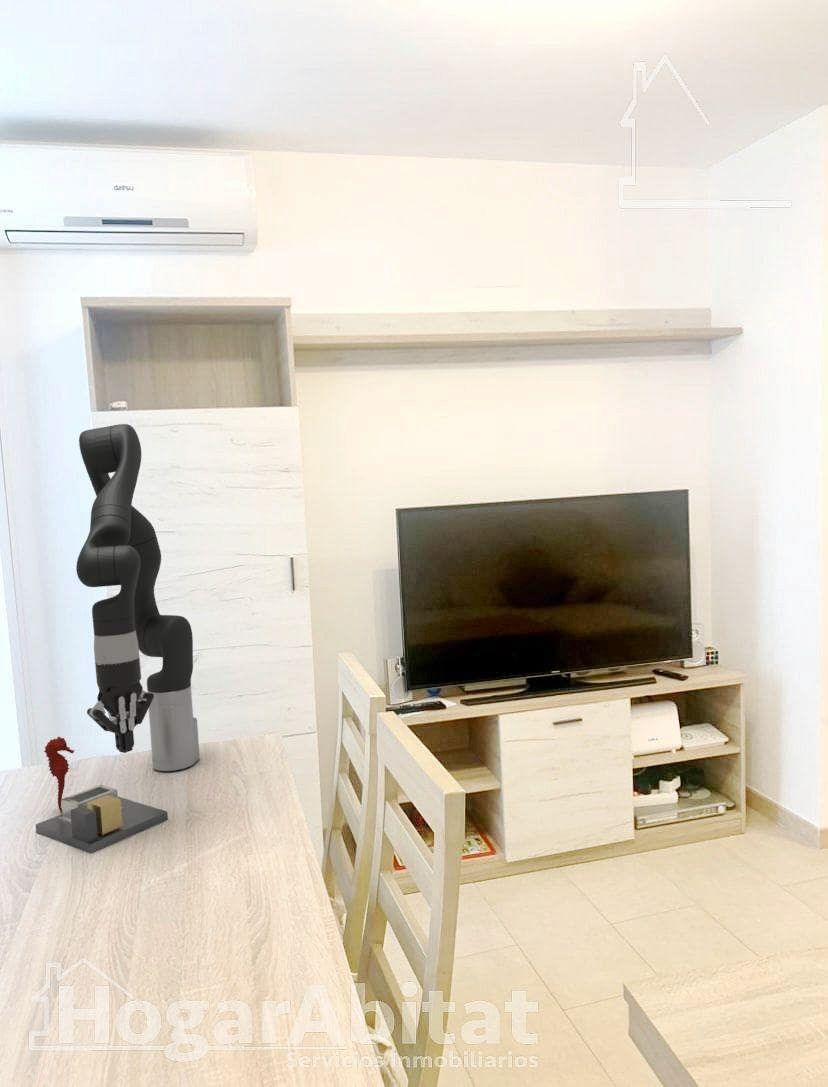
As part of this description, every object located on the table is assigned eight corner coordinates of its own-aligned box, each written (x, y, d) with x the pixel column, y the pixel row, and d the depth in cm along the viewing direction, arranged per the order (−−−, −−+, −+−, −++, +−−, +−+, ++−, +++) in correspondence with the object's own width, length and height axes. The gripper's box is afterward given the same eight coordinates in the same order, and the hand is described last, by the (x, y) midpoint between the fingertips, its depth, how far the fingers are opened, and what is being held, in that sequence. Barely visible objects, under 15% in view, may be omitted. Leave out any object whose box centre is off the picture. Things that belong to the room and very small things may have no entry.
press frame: (113, 802, 162) (110, 770, 161) (167, 819, 152) (165, 785, 151) (36, 832, 149) (33, 797, 148) (90, 853, 139) (87, 816, 138)
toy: (80, 811, 158) (74, 735, 157) (49, 817, 155) (43, 740, 154) (78, 807, 160) (72, 732, 159) (48, 813, 157) (42, 737, 156)
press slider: (109, 821, 147) (107, 795, 147) (122, 826, 145) (120, 799, 145) (89, 830, 144) (87, 802, 144) (102, 834, 142) (100, 807, 142)
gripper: (135, 647, 153) (143, 737, 155) (71, 663, 143) (80, 759, 144) (161, 651, 149) (168, 743, 151) (97, 667, 138) (106, 766, 140)
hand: (125, 751), depth 147 cm, fingers closed
